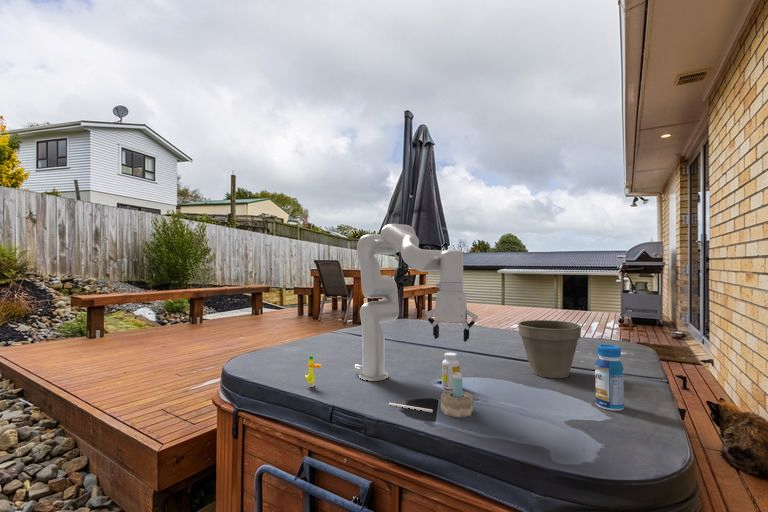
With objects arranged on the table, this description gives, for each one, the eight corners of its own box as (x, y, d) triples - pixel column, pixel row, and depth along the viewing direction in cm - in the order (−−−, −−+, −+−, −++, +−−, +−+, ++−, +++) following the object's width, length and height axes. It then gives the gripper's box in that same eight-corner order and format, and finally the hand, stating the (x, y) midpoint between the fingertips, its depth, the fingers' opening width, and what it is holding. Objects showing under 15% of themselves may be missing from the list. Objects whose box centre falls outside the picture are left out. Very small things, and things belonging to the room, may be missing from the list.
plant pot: (517, 378, 154) (516, 326, 154) (519, 363, 177) (519, 318, 177) (585, 385, 144) (584, 330, 145) (578, 369, 167) (577, 321, 168)
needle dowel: (452, 412, 118) (451, 374, 118) (454, 408, 121) (453, 372, 121) (462, 413, 117) (461, 375, 117) (463, 410, 120) (462, 372, 120)
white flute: (388, 405, 124) (388, 403, 124) (389, 404, 125) (389, 402, 125) (432, 412, 118) (432, 410, 118) (432, 411, 119) (432, 409, 119)
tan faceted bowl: (438, 414, 117) (438, 398, 117) (445, 403, 125) (445, 388, 126) (469, 419, 113) (468, 402, 113) (474, 408, 122) (474, 392, 122)
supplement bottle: (460, 385, 144) (460, 352, 144) (458, 391, 138) (458, 356, 138) (443, 383, 146) (443, 351, 147) (440, 389, 140) (440, 355, 140)
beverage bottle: (625, 413, 117) (624, 350, 118) (594, 408, 122) (593, 347, 122) (624, 405, 124) (623, 345, 125) (595, 400, 129) (594, 342, 129)
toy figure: (322, 386, 143) (322, 354, 144) (319, 389, 140) (319, 357, 140) (306, 385, 145) (306, 354, 145) (302, 388, 141) (302, 356, 141)
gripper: (422, 287, 122) (422, 339, 122) (476, 289, 115) (475, 344, 115) (429, 286, 129) (428, 335, 129) (479, 288, 122) (479, 339, 122)
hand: (450, 339), depth 122 cm, fingers open, 9 cm apart
